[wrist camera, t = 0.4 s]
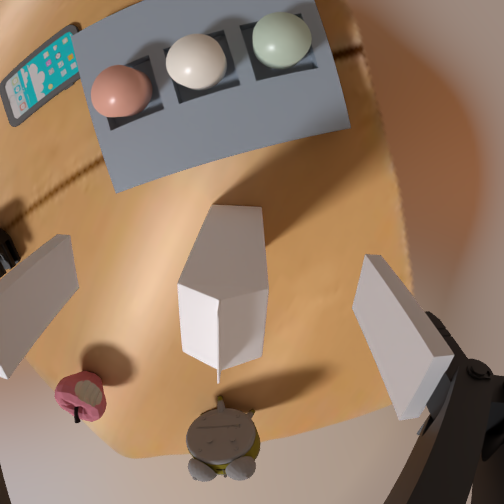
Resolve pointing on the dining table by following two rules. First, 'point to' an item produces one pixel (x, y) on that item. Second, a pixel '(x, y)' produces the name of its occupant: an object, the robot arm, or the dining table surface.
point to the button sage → (281, 40)
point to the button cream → (196, 62)
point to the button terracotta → (121, 91)
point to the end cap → (7, 253)
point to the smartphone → (40, 76)
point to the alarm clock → (223, 444)
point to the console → (210, 100)
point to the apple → (82, 396)
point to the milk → (225, 289)
